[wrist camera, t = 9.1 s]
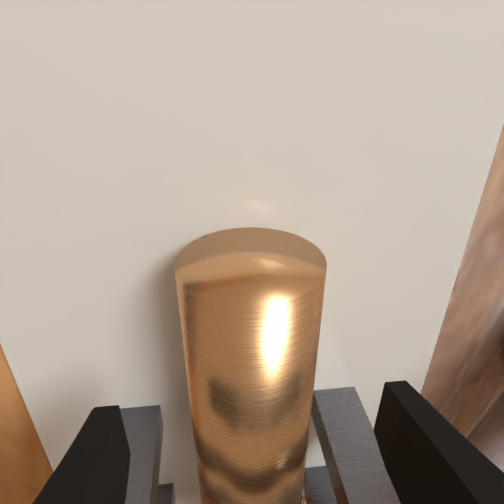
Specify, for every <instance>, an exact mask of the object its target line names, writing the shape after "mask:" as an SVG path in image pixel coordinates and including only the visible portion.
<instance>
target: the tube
mask: <svg viewBox="0 0 504 504" xmlns="http://www.w3.org/2000/svg"><path fill="white" fill-rule="evenodd" d="M326 272H327V262H326V258H325V256H324V254H323V253H322V252H321V250H320V249H319V248H318V247H317V246H315V245H314V244H313V243H311V242H310V241H308V240H306V239H304V238H302V237H300V236H298V235H295V234H292V233H289V232H285V231H281V230H276V229H269V228H256V227H246V228H233V229H226V230H221V231H217V232H213V233H210V234H207V235H204V236H202V237H200V238H197V239H196V240H194V241H192V242H190V243H189V244H188V245H186V246H185V247H184V248H183V249H182V250H181V251H180V253H179V254H178V256H177V258H176V260H175V276H176V285H177V294H178V303H179V312H180V320H181V329H182V338H183V347H184V356H185V365H186V374H187V383H188V391H189V400H190V409H191V418H192V427H193V436H194V445H195V454H196V462H197V471H198V480H199V489H200V498H201V504H301V501H302V491H303V482H304V473H305V464H306V455H307V446H308V437H309V427H310V418H311V409H312V400H313V391H314V382H315V372H316V363H317V354H318V345H319V336H320V327H321V317H322V308H323V299H324V290H325V281H326Z"/></svg>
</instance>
